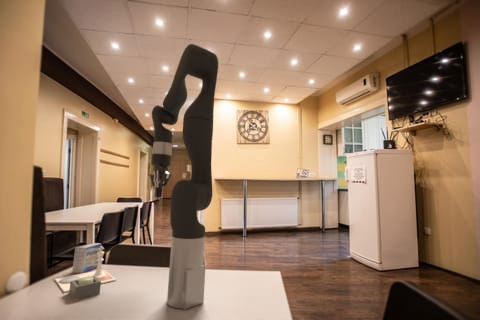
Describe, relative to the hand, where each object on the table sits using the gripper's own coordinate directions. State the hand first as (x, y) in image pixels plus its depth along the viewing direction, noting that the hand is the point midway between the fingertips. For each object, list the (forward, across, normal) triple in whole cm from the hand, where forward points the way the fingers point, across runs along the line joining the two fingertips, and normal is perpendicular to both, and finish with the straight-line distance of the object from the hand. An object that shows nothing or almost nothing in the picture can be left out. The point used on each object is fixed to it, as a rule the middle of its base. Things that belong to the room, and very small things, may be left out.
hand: (158, 197), depth 92 cm
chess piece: (+27, +2, +18) cm, 32 cm away
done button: (+26, -7, +24) cm, 36 cm away
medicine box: (+27, +15, +18) cm, 36 cm away
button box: (+27, -7, +24) cm, 37 cm away
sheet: (+27, +4, +21) cm, 34 cm away
